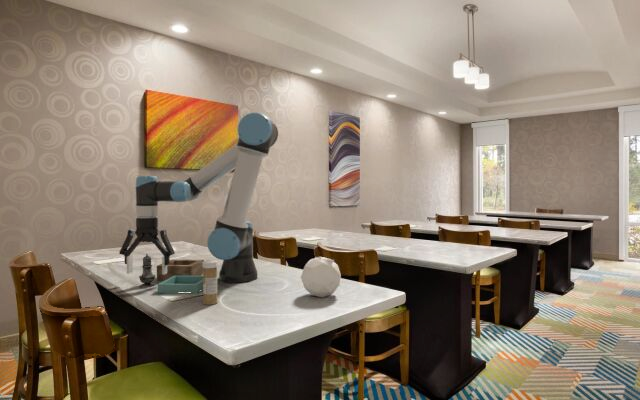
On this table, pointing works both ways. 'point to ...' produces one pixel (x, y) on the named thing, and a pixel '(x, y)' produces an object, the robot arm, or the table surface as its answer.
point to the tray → (181, 284)
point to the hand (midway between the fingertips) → (147, 273)
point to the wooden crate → (180, 269)
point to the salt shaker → (147, 273)
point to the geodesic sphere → (321, 276)
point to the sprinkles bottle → (210, 282)
